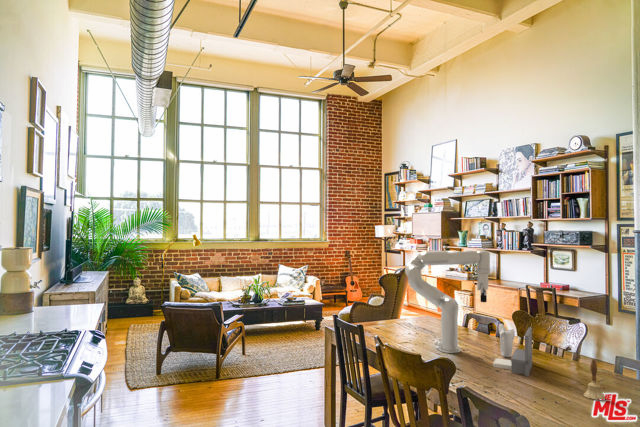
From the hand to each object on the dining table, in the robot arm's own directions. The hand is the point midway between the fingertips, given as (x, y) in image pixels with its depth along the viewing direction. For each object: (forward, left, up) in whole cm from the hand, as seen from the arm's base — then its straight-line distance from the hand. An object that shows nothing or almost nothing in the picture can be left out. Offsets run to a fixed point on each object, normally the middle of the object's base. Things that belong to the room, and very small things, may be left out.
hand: (483, 301), depth 256 cm
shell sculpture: (+13, -5, -29) cm, 32 cm away
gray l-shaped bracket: (+23, -25, -29) cm, 45 cm away
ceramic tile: (+17, -24, -30) cm, 42 cm away
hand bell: (+54, -49, -29) cm, 79 cm away
